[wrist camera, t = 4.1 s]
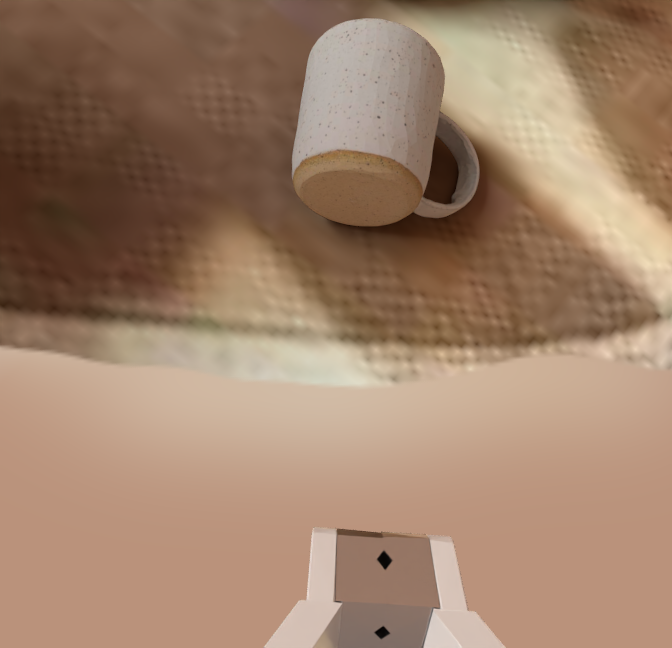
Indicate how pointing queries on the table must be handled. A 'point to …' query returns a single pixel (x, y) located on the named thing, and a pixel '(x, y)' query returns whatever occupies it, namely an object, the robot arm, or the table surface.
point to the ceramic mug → (375, 127)
